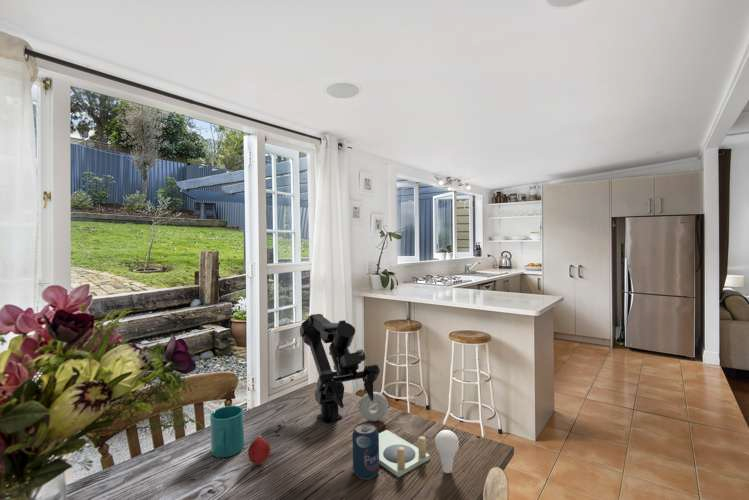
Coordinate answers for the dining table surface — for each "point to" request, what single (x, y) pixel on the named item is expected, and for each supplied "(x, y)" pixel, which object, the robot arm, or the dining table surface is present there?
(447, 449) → the lightbulb
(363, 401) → the donut
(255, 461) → the onion
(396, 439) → the board
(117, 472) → the dining table surface
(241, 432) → the cup
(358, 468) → the soda can
